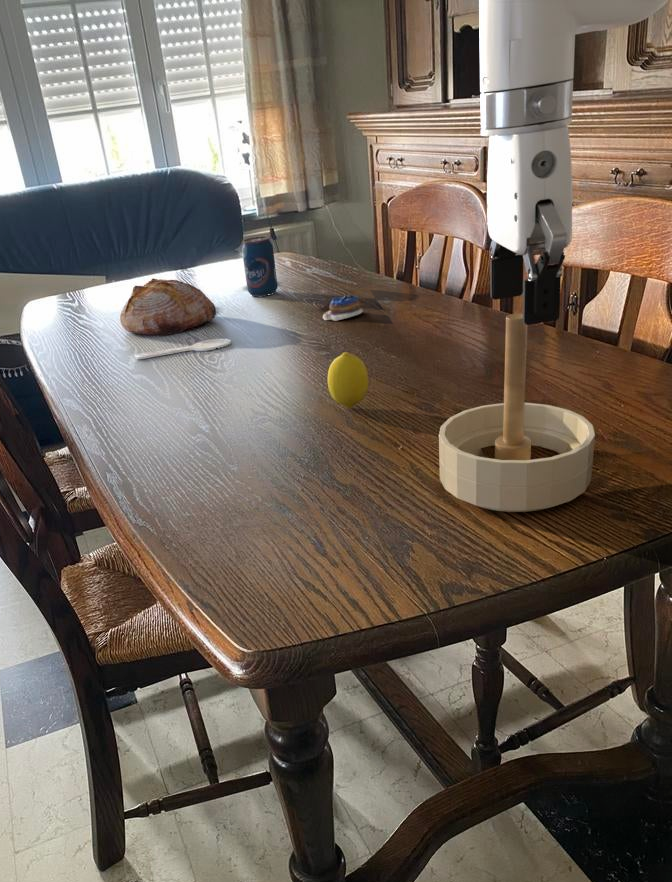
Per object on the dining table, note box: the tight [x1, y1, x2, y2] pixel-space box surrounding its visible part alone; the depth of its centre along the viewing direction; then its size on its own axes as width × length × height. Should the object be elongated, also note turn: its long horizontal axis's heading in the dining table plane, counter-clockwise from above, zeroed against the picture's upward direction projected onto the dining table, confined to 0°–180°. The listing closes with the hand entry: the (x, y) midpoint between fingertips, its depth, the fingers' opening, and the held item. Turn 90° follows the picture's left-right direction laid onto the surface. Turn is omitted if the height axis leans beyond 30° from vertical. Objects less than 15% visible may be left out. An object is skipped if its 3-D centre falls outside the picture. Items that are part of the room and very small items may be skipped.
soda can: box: [241, 236, 279, 297], centre depth 168 cm, size 7×7×12 cm
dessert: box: [322, 294, 364, 322], centre depth 146 cm, size 8×7×6 cm
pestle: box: [494, 313, 532, 460], centre depth 75 cm, size 4×4×17 cm
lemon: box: [327, 351, 370, 410], centre depth 102 cm, size 6×6×8 cm
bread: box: [119, 277, 217, 337], centre depth 153 cm, size 16×20×10 cm
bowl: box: [438, 402, 596, 513], centre depth 78 cm, size 15×15×6 cm
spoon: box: [133, 338, 232, 360], centre depth 138 cm, size 5×18×1 cm, turn 100°
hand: (522, 308), depth 73 cm, fingers open, 9 cm apart
